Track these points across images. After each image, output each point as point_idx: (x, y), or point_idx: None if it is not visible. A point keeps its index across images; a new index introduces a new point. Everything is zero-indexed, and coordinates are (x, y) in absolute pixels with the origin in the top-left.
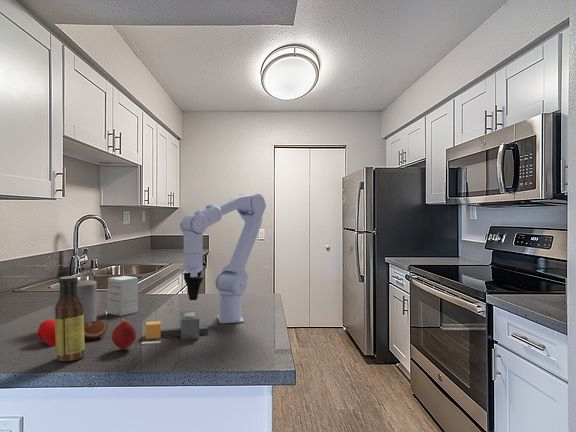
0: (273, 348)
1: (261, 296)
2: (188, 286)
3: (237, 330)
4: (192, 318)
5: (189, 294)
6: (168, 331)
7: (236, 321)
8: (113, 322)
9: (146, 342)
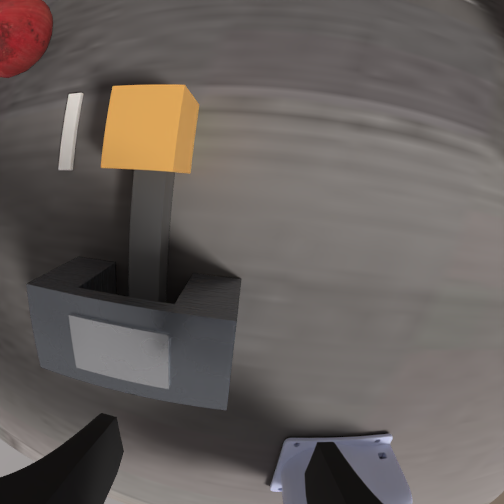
0: (19, 439)
1: (496, 488)
2: (18, 477)
3: (174, 456)
4: (47, 342)
5: (74, 440)
6: (133, 210)
7: (274, 477)
8: (464, 25)
9: (70, 112)
